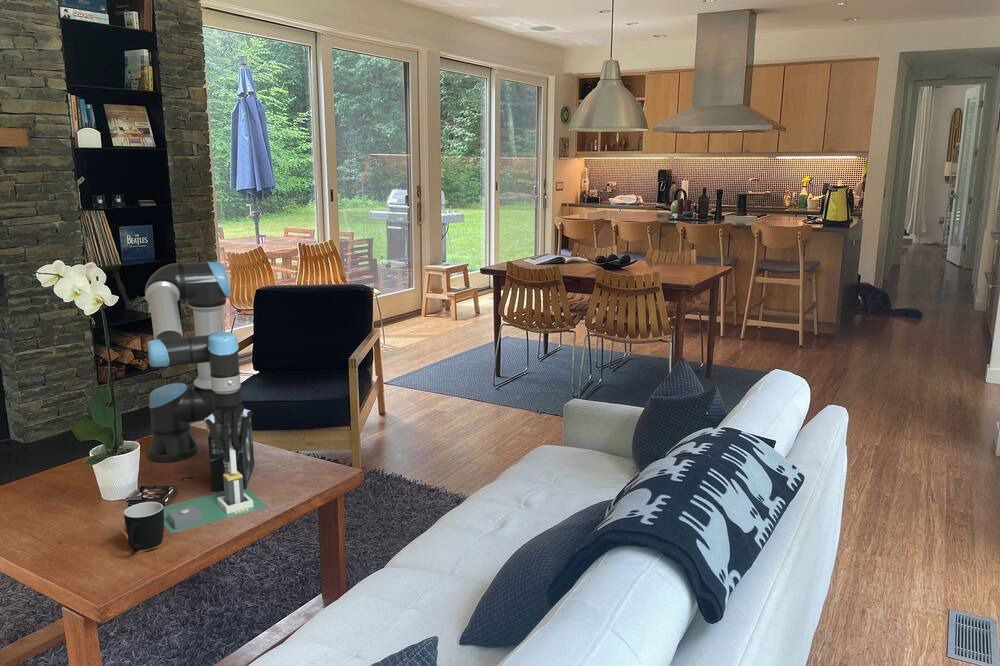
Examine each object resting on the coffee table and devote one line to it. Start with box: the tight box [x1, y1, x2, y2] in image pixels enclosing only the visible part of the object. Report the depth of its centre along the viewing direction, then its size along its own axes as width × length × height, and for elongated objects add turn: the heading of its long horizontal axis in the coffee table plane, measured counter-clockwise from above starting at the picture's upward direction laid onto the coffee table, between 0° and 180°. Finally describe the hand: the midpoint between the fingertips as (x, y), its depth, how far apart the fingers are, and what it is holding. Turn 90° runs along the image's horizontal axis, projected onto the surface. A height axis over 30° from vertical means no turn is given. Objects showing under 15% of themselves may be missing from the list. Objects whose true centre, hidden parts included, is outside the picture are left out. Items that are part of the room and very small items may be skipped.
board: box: [163, 487, 269, 534], centre depth 212 cm, size 18×26×4 cm
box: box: [207, 409, 255, 493], centre depth 233 cm, size 23×10×19 cm, turn 12°
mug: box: [123, 501, 165, 553], centre depth 190 cm, size 12×9×10 cm
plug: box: [223, 471, 244, 506], centre depth 213 cm, size 5×4×9 cm
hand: (232, 471), depth 212 cm, fingers closed
